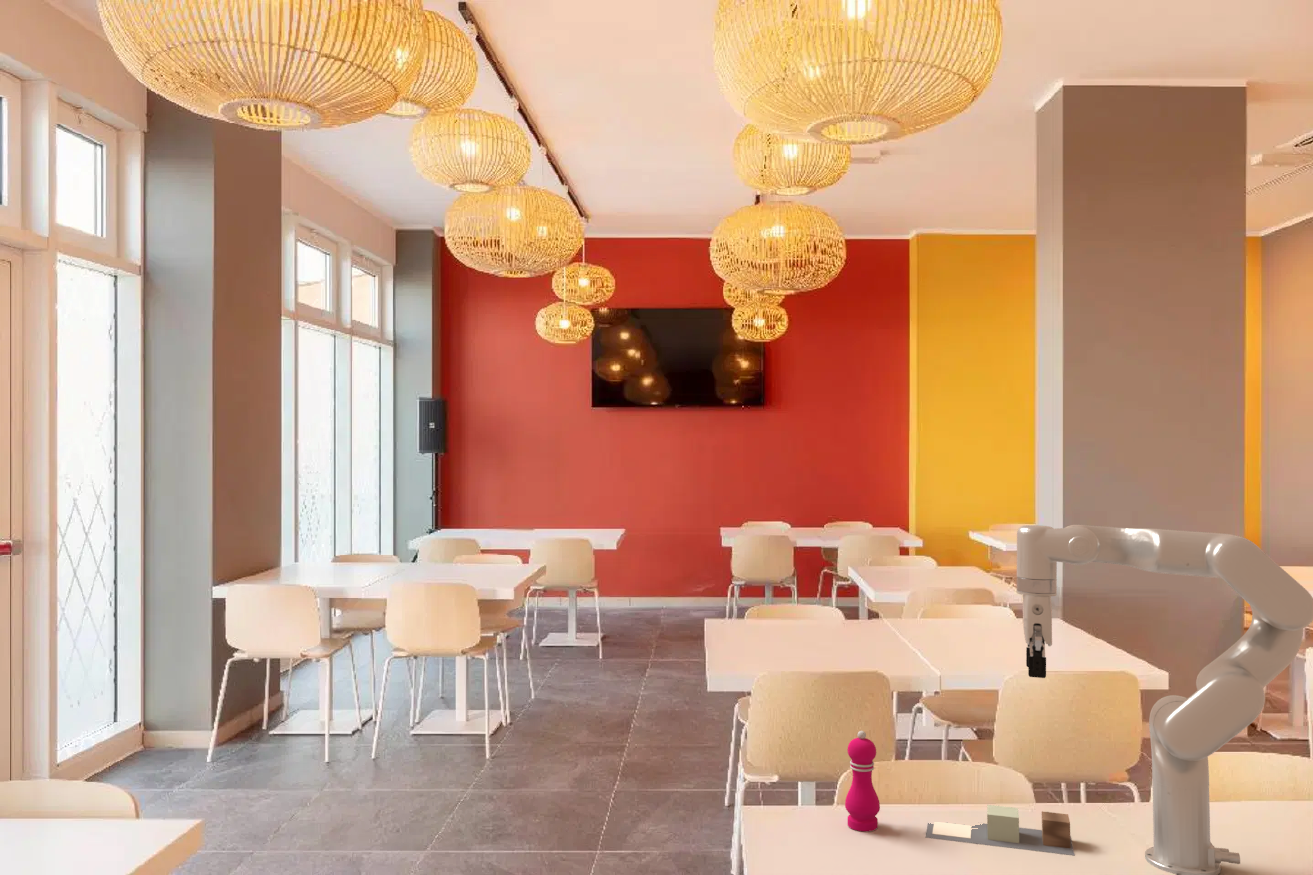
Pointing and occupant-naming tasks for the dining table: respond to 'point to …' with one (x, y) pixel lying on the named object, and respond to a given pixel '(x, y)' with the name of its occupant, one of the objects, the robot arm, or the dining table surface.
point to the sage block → (1003, 823)
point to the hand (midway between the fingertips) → (1035, 672)
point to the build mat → (963, 833)
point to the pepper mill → (862, 786)
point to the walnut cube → (1056, 829)
